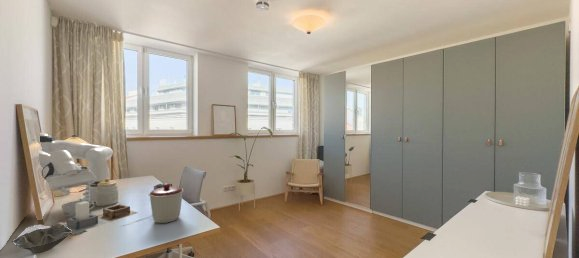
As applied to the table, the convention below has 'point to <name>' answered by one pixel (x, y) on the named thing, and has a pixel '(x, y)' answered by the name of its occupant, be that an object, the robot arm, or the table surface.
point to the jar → (106, 193)
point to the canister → (166, 203)
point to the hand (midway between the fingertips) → (78, 191)
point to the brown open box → (116, 212)
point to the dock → (83, 224)
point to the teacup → (72, 208)
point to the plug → (82, 210)
